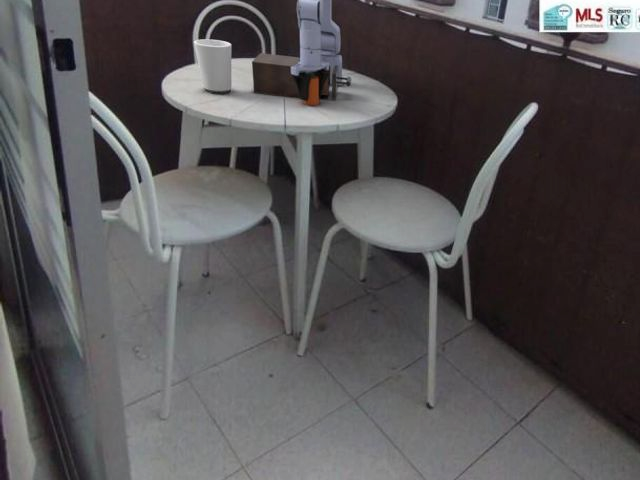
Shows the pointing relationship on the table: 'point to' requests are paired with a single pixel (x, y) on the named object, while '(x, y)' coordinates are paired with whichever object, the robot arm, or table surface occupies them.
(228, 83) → the cup
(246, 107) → the table surface
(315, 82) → the bottle
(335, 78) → the drawer
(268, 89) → the cabinet
